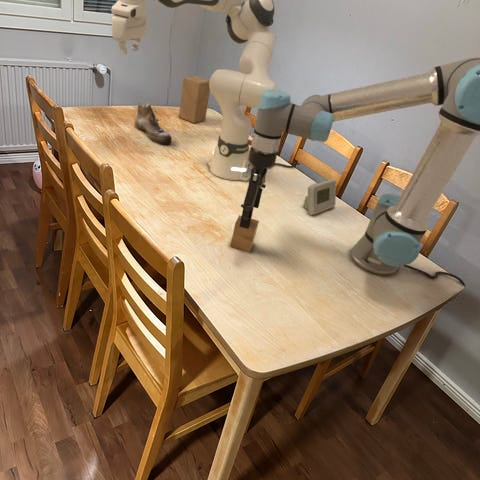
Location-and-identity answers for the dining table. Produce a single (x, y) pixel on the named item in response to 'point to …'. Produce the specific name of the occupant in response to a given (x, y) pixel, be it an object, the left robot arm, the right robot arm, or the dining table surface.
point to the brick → (244, 235)
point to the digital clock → (320, 196)
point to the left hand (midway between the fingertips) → (129, 51)
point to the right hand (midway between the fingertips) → (249, 216)
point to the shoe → (151, 124)
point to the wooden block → (194, 99)
